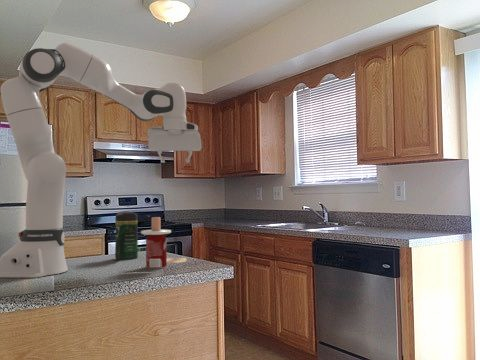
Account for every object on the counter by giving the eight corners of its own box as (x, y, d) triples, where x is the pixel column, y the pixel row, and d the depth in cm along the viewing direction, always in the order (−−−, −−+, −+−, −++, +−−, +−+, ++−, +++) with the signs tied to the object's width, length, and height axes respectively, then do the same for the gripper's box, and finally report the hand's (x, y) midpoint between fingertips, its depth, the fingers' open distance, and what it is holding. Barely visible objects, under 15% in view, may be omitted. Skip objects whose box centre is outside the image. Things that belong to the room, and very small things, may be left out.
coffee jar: (140, 260, 162) (140, 211, 163) (119, 261, 158) (119, 212, 159) (133, 256, 171) (133, 210, 171) (113, 258, 167) (113, 211, 167)
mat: (158, 264, 151) (158, 263, 151) (159, 260, 161) (159, 258, 161) (186, 263, 153) (186, 262, 153) (186, 259, 163) (186, 257, 163)
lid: (139, 234, 138) (139, 218, 138) (142, 232, 148) (142, 216, 148) (170, 234, 139) (170, 218, 140) (171, 231, 149) (171, 216, 150)
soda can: (162, 270, 139) (161, 234, 140) (142, 270, 141) (142, 234, 141) (169, 267, 146) (169, 232, 146) (151, 266, 147) (151, 232, 148)
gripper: (146, 125, 159) (146, 162, 159) (201, 125, 162) (201, 161, 161) (148, 127, 165) (148, 163, 165) (201, 128, 168) (201, 163, 167)
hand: (175, 162), depth 163 cm, fingers open, 8 cm apart
